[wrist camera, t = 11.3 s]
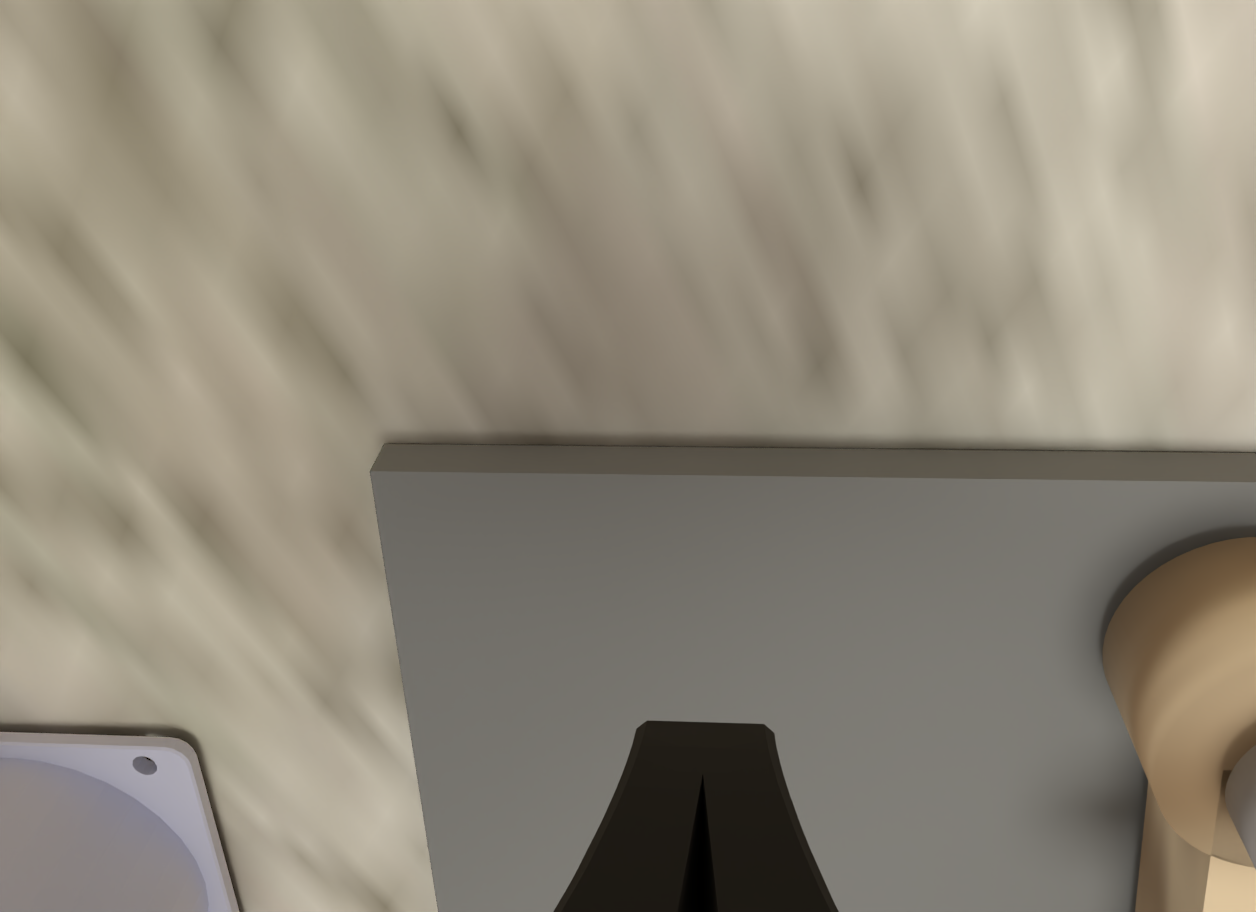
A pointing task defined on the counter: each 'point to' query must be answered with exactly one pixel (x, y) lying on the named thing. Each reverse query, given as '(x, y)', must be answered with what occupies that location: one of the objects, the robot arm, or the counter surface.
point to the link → (1190, 720)
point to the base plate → (793, 652)
